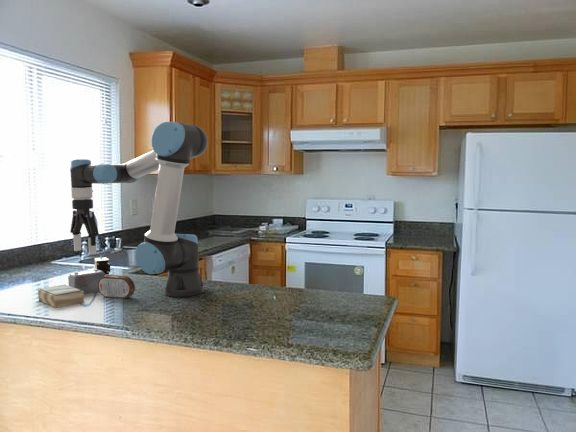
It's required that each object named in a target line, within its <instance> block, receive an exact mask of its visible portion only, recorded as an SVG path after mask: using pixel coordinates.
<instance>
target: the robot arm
mask: <svg viewBox="0 0 576 432" xmlns="http://www.w3.org/2000/svg"><path fill="white" fill-rule="evenodd" d="M150 144H151V147H152V150H151V151H149V152H147V153H144V154H142V155H140V156H138V157H136V158H133V159H131V160H128V161H127V162H124V163H120V164H119V163H117V164H116V163H115V164H113V163H106V162H105V163H95V164H94V163H93V164H92V161H91V160H90V159H84V158H83V159H82V158H81V159H80V158H79V159H72V160H70V170H69V171H70V185H71V198H72V200H71V203H72V206H71V207H72V209H73V210H72V219H71V226H70V232H69V233H71V234H72V236H73V237H72V238H73V251H74V252H79V251H82V236H81V235H82V232H81V231H82V227H83V225H84V227H85V229H86V232H87V234H88V235H87V240H88V242H87V243H88V255H96V254H97V252H98V251H97V237H98V236H99V229H98V227H97V223H96V222H97V221H96V219H95V213H94V210H93V211H91V210H90V209H93V208H94V199H92V198H93V193H94V190H93V184H98V185H100V184H102V185H106V184H107V185H108V184H132V183H136V182H137V181H138V180H139V179H140V178H142V177H144V176H146V175H149V174H151V173H154V172H156V171H158V172H157V178H156V187H155V193H154V199H153V207H152V214H151V221H150V222H151V223H150V226H149V227H150V228H149V230H148V231H147V232H145V233H144V237H143V238H144V239H143V242H141V243H139V245H137V247H136V249H135V254H134V257H135V261H136V263H137V265H138V267H139V268H140V270H142V271H143V272H144V273H146V274H149V275H155V274H161V273H163V272H167V278H166V281H165V285H164V288H163V289H164V290H163V291H164V295H165V296H168V297H174V298H180V297H181V298H182V297H183V298H185V297H193V296H198V295H201V294H203V293H204V292H205V286H204V282H203V279H202V277H201V274H200V267H199V242H198V241H199V240H198V236H197V235H196V234H191V233H190V234H189V233H176V232H175V231H176V224H177V220H178V213H179V207H180V199H181V192H182V186H183V180H184V172H185V168H186V167H188V166H189V165H190V162H191V160H192V159H195V158H198V157H200V156H202V155H203V154H204V153H205V151H206V150H207V148H208V145H209V138H208V136H207V133H206V131H205V130H204V129H203V128H201V127H200V126H198V125H196V124H189V123H184V122H177V121H164V122H161V123H160V124H159V125H157V126H156V127H155V128H154V129H153V131H152V135H151V138H150Z"/></svg>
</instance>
